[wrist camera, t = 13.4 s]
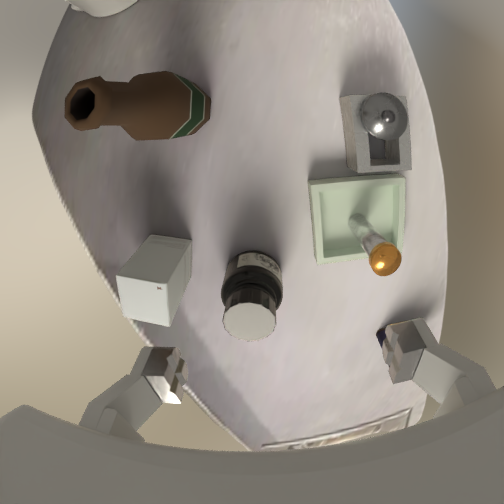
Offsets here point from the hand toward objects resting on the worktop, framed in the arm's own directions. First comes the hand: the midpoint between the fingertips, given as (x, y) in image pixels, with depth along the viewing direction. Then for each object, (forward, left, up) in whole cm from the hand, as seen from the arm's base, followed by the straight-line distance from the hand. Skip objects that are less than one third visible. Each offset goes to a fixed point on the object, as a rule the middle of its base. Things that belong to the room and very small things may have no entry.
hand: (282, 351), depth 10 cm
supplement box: (+10, -18, -31) cm, 38 cm away
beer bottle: (-12, -10, -31) cm, 35 cm away
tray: (+7, +12, -31) cm, 34 cm away
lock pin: (+8, +12, -30) cm, 34 cm away
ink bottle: (+15, -5, -31) cm, 35 cm away
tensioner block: (-6, +15, -31) cm, 35 cm away
